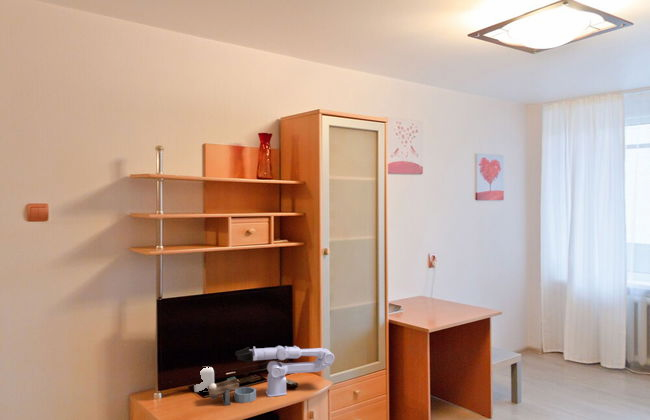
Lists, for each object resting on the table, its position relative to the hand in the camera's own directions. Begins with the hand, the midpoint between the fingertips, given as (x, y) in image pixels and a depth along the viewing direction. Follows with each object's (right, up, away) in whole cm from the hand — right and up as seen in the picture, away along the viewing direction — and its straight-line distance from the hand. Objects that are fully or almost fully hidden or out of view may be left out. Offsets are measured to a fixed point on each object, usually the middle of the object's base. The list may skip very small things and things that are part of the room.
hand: (236, 355), depth 256 cm
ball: (-11, -14, -6) cm, 18 cm away
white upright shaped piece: (-19, -22, +10) cm, 30 cm away
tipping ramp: (-6, -18, -1) cm, 19 cm away
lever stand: (-5, -21, -4) cm, 22 cm away
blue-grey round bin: (+4, -21, -1) cm, 22 cm away
